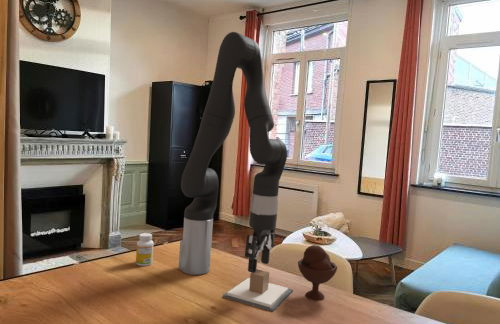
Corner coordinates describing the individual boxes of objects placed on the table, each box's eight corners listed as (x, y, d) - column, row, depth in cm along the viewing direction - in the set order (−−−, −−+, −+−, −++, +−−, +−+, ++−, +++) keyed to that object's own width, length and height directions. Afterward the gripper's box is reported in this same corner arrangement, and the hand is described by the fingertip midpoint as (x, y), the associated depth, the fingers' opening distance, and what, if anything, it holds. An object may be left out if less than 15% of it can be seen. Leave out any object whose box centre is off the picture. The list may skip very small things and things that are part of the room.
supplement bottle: (140, 259, 126) (142, 231, 126) (155, 261, 125) (157, 233, 125) (132, 264, 121) (134, 235, 120) (148, 267, 120) (149, 237, 119)
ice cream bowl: (335, 307, 100) (339, 253, 99) (293, 301, 102) (297, 247, 101) (334, 292, 110) (338, 242, 109) (296, 286, 112) (300, 238, 111)
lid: (227, 295, 101) (228, 274, 101) (248, 280, 113) (249, 261, 113) (270, 307, 96) (272, 285, 95) (288, 290, 107) (289, 271, 107)
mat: (222, 297, 101) (222, 294, 101) (247, 279, 115) (247, 278, 115) (273, 311, 95) (273, 309, 95) (292, 291, 108) (292, 289, 108)
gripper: (262, 205, 111) (257, 257, 112) (239, 212, 98) (234, 271, 99) (285, 209, 108) (280, 263, 109) (265, 217, 95) (259, 278, 96)
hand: (258, 267), depth 104 cm, fingers open, 8 cm apart
